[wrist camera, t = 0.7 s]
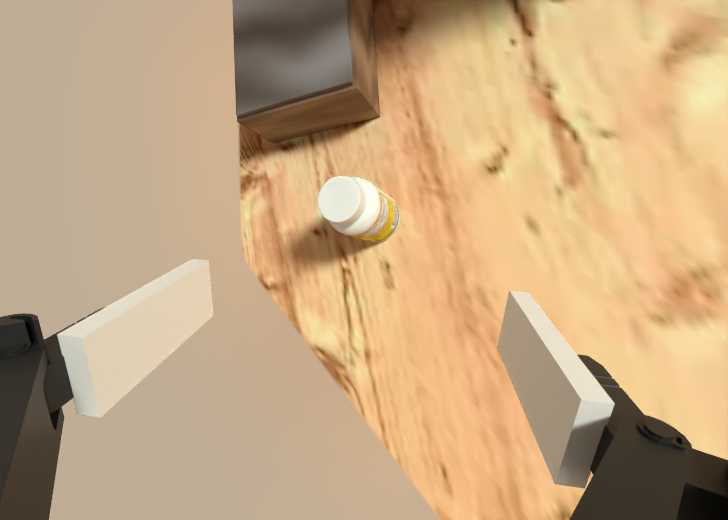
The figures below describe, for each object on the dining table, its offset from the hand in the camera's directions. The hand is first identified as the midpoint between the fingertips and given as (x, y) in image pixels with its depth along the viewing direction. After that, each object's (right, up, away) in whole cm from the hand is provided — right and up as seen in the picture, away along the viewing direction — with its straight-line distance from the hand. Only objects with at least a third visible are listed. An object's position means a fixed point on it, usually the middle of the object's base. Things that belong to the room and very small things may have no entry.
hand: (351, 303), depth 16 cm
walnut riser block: (-5, +25, +27) cm, 37 cm away
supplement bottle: (+2, +6, +23) cm, 24 cm away
